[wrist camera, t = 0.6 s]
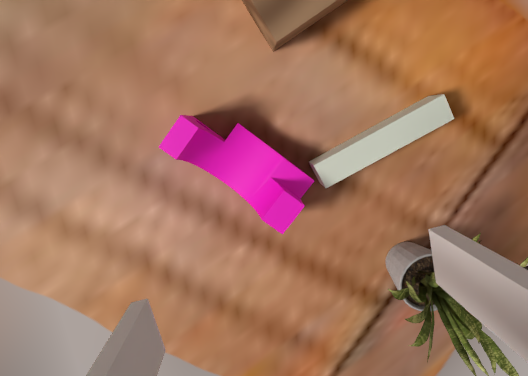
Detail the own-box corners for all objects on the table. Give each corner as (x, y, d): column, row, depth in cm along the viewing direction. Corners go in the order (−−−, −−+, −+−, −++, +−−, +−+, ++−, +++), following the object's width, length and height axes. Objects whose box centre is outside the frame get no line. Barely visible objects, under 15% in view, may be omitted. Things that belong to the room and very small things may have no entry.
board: (308, 161, 41) (313, 165, 37) (426, 96, 40) (444, 93, 36) (319, 182, 41) (325, 188, 38) (436, 118, 40) (454, 118, 37)
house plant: (487, 264, 44) (623, 346, 28) (407, 331, 46) (493, 446, 30) (421, 189, 42) (529, 232, 26) (339, 262, 43) (392, 346, 27)
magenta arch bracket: (307, 174, 41) (320, 186, 34) (276, 214, 42) (282, 234, 34) (205, 98, 39) (195, 93, 31) (175, 142, 39) (158, 147, 32)
